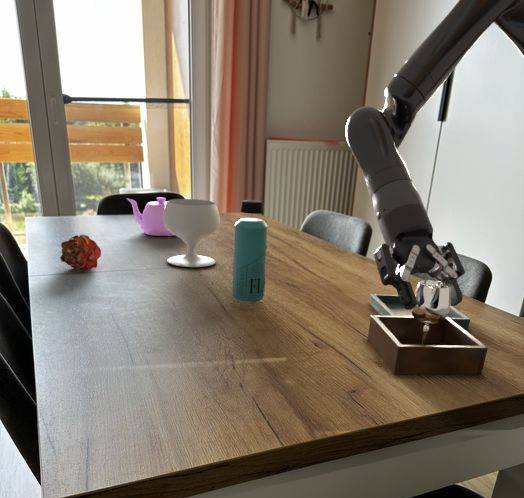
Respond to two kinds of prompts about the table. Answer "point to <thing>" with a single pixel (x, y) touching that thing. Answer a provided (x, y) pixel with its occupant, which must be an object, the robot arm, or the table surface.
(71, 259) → the dragon fruit
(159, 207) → the teapot
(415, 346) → the brown wooden box
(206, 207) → the chalice
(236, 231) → the beverage bottle
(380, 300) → the tray
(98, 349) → the table surface
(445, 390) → the table surface
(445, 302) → the wineglass
